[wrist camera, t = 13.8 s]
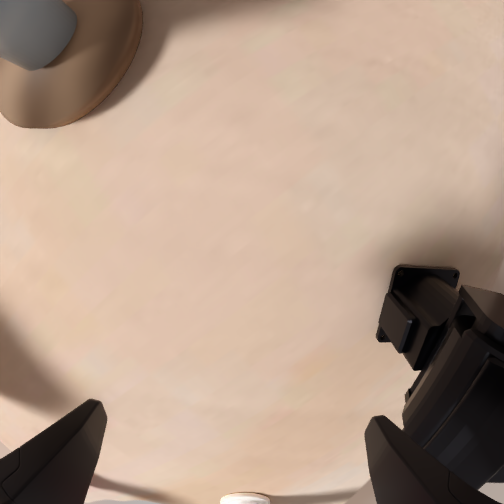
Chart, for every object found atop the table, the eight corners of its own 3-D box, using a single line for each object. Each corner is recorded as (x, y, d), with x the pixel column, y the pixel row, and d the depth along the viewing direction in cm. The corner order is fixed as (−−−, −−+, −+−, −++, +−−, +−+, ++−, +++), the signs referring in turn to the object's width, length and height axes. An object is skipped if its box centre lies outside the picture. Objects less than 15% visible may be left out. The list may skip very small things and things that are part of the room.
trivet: (157, -33, 14) (148, -49, 11) (134, 120, 18) (119, 117, 15) (27, 5, 13) (11, -2, 11) (4, 138, 17) (-15, 139, 15)
